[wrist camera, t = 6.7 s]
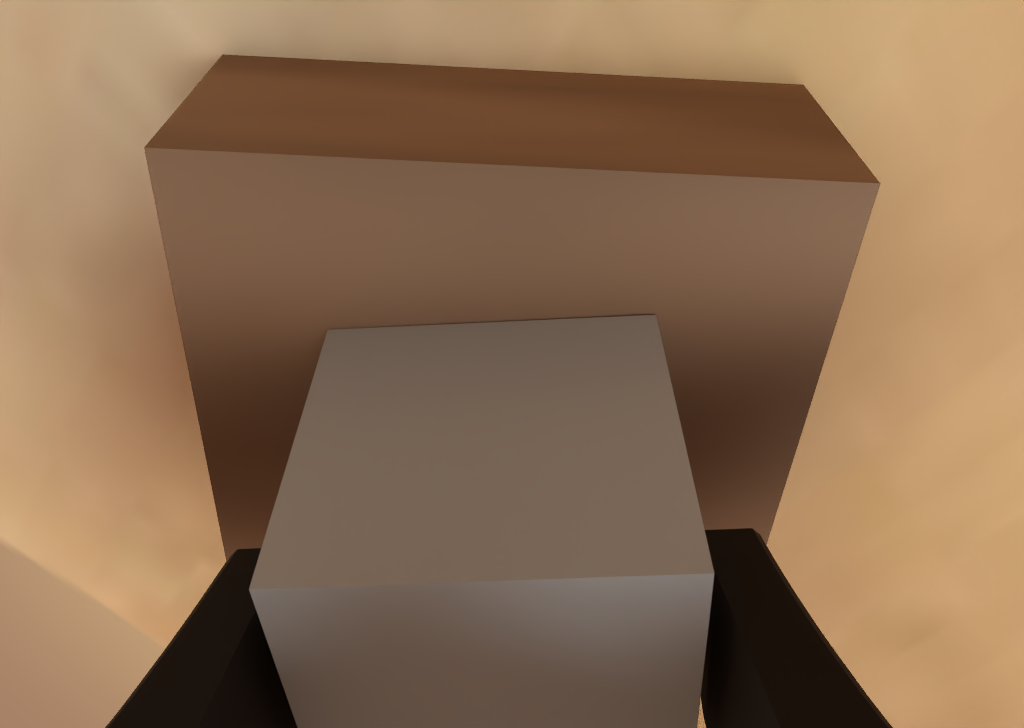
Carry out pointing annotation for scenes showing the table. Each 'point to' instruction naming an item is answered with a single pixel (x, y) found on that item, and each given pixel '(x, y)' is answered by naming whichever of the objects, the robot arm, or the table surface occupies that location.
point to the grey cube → (489, 533)
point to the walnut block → (505, 243)
